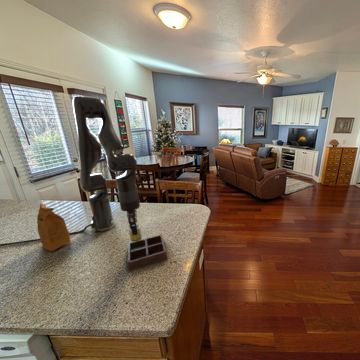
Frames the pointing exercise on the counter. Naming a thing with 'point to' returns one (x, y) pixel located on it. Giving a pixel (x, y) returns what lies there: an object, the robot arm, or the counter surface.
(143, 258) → the grid
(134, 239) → the supplement bottle
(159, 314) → the counter surface
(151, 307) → the counter surface
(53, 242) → the coffee package
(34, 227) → the counter surface
